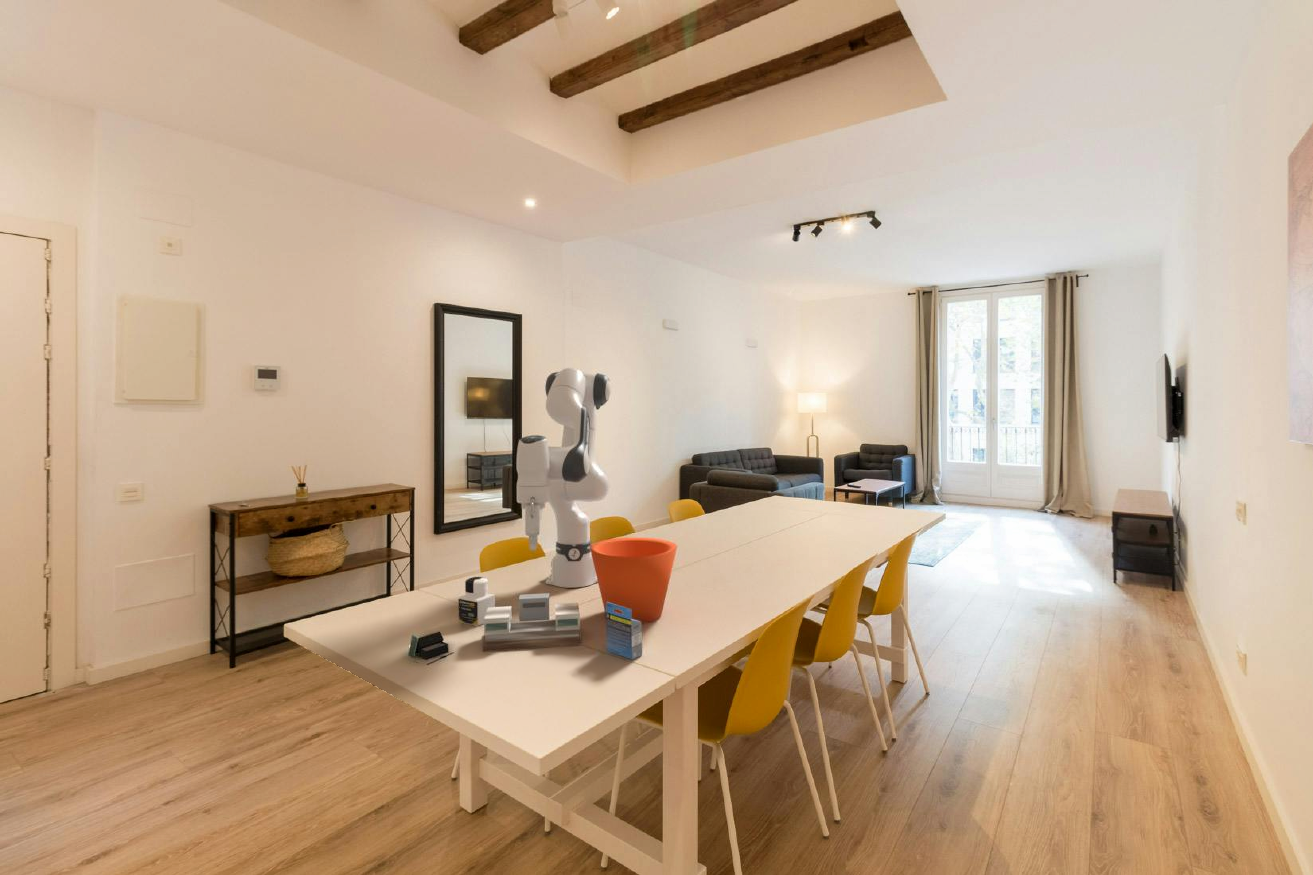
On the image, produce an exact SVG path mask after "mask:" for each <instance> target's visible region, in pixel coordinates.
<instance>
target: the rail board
mask: <svg viewBox="0 0 1313 875" xmlns="http://www.w3.org/2000/svg"><path fill="white" fill-rule="evenodd" d="M579 607H580V606H579V602H569V603H564V602H563V603H555V619H554V618H553V619H549V620H536V621H519V620H518V621H513V620H512V619H513V618H512V614H513V613H512V605H509V606H508V605H507V606H506V605H505V606H495V607H488V609H487V612H486V615H485V618H484V624H483V629H484V630H483V634H484V639H483V642H482V649H481V650H482V652H492V651H506V650H507V651H508V650H509V651H510V650H521V649H522V650H523V649H524V650H525V649H537V648H540V649H541V648H554V647H555V648H556V647H557V648H558V647H569V646H572V647H573V646H582V636H581V624H580V623H581V622H580V619H581V618H580V615H581V614H580V608H579Z"/></svg>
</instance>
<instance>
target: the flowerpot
mask: <svg viewBox="0 0 1313 875" xmlns="http://www.w3.org/2000/svg"><path fill="white" fill-rule="evenodd" d="M677 549H678V545H677V544H676V543H674V542H673V541H669V540H665V539H661V538H654V537H653V538H652V537H635V536H633V537H617V538H610V539H605V540H599V541H596V542H594V543H591V546H590V550H591V555H592V559H593V563H594V567H595V572H596V576H597V580H598V582H597V583H598V584H597V585H598V588H599V592H600V595H601V596H600V597H601V600H602V604H603V609H604V614H605V615H606V604H607V602H609V603H612V604H616V605H619V606H622V607H625V608H629V609H632V613H631V619H634V620H638V621H641V624H647V623H652V622H655V621H657V620H658V619H661V617H662V614H663V610H664V606H665V601H666V595H667V592H668V590H669V589H668V588H669V584H670V578H671V575H672V571H673V566H674V561H675V557H676V553H677ZM614 611H615V612H617V613H620V614H623V612H622V611H620V610H619V609H617V610H616V609H614ZM654 620H655V621H654Z"/></svg>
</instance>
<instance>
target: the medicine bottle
mask: <svg viewBox="0 0 1313 875" xmlns="http://www.w3.org/2000/svg"><path fill="white" fill-rule="evenodd" d="M488 581H489V580H488V579H487V578H486V577H484V576H473V577H470V578H467V579H466V580H465V582H464V583H465V584H464V586H465V587H464V588H465V590H464V591H465V594H464V595H461V596H458V601H457V602H458V622H459V623H461V624H465V625H470V626H475V627H479V626H482V625H484V618H485V615H486V612H487V609H488V607H496V598H495V597H496V596H495V594H494V593H490V592H489V585H488V583H489V582H488ZM488 592H489V593H488Z"/></svg>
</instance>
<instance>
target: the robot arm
mask: <svg viewBox="0 0 1313 875" xmlns="http://www.w3.org/2000/svg"><path fill="white" fill-rule="evenodd" d="M545 381H546V382H545V387H544V389H545V390H544V391H545V395H546V400H545V410H546V412H547V414H548V416H549V417H550V418H551V419H552V420H553V421H554V422H556V424H559V425H561V426H563V430H562V439H561V446H549V443H548V439H547V437H545V436H542V435H540V434H539V435H536V434H535V435H527V436H523V437H522V438H520V439H519V440H518V444H517V450H516V472H517V482H516V502H517V503H518V504H521V509H523V510H525V511H524V513H525V514H524V517H525V518H524V519H525V520H524V530H525V531H524V532H525V535H526V536H527V537H528V541H529V542H528V543H529V550H530V551H536V550H537V546H538V545H537V542H538V536H539V535H540V533H541V532H540V530H541V524H542V517H543V509H545V508H546V503H549V505H550V507H551V509H552V511H553V513H554V516H555V521H556V522H555V523H556V532H557V533H556V536H557V539H556V542H555V553H556V554H555V555H554V557H552V559H551V560H550V567H551V569H550V573H551V574H550V575H549V576H548V578H547V579H546V581H545V584H546V585H551V586H554V587H555V586H556V587H560V588H569V589H570V588H573V589H574V588H583V587H588V586H591V585H593V584H595V583H598V580H597V576H596V572H595V567H594V563H593V559H592V555H591V550H590V546H591V545H592V541H591V536H590V535H591V524H590V523H591V521H590V517H589V516H588V515H587V514H586V512H585V513H584V512H583V511H582V510H581V509H580V508H579V507H578V504H577V502H583V503H584V502H585V503H593V502H598V501H602V500H604V499H605V498H606V497H607V495H608V493H609V489H610V481H609V477H608V476H607V474H606V473H604V471H602V469H601V468H600V467H599V465H598V463H597V461H596V460H597V459H596V456H595V440H596V431H597V411H598V410H600V408H601V407H603V406H604V405H605V404H606V403H607V402H609V398H610V396H611V392H612V385H611V383H610V382H611V381H610V378H609V377H608V376H607V375H605V374H602V373H593V372H588V371H581V370H579V369H577V368H574V367H566V368H565V367H564V368H563V369H562V370H560V371H556V372H552V373H550V374H549V375H548V376H547V378H546V380H545Z"/></svg>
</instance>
